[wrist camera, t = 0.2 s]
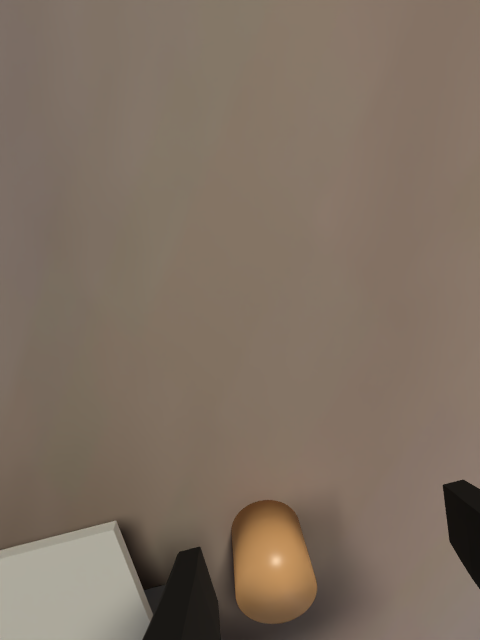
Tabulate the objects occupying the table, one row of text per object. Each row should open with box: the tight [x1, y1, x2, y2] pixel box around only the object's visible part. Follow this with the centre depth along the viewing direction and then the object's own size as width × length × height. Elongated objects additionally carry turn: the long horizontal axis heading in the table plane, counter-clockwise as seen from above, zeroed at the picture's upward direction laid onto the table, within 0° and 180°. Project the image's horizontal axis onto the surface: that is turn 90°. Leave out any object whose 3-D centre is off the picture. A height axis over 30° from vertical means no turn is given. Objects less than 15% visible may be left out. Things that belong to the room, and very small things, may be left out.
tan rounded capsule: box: [231, 500, 317, 624], centre depth 21 cm, size 4×4×4 cm
